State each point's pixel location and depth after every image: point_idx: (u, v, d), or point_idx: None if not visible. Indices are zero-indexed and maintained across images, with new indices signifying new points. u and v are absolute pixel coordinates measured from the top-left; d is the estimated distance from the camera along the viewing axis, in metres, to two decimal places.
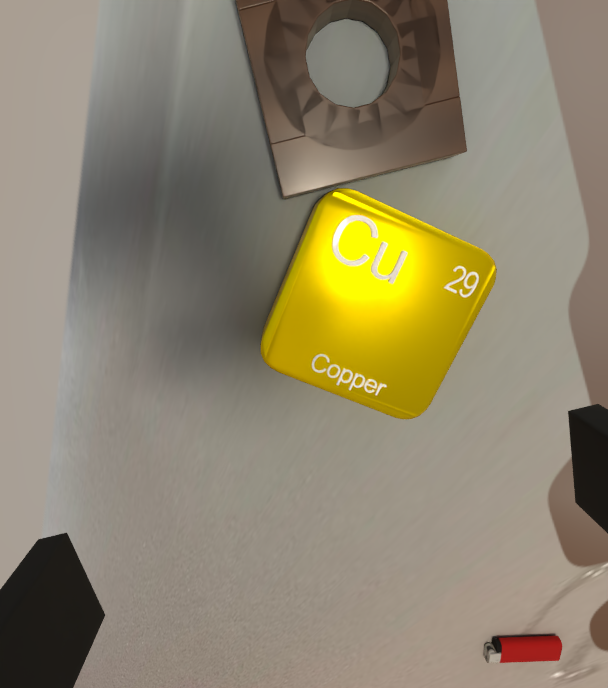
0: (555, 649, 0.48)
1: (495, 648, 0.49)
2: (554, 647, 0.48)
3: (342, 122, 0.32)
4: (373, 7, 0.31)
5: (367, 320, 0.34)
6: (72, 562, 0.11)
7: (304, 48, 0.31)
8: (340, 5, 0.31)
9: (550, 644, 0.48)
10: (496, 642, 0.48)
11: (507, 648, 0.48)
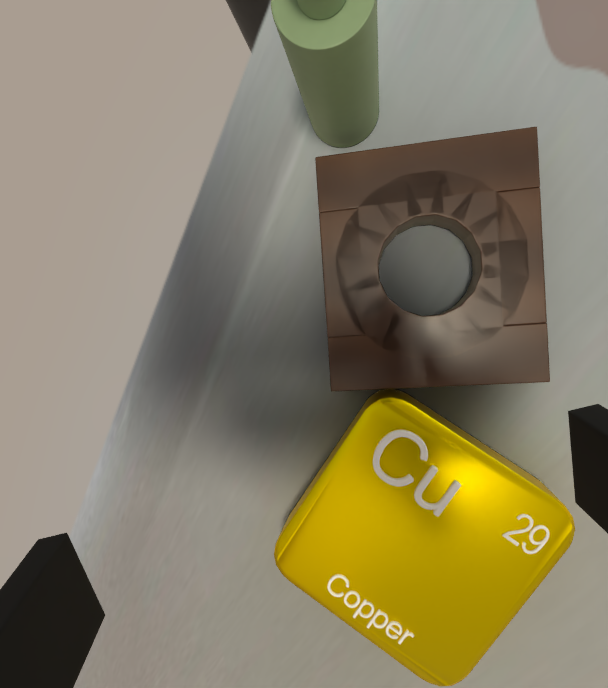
0: None
1: None
2: None
3: (407, 328, 0.30)
4: (458, 223, 0.29)
5: (401, 550, 0.29)
6: (72, 562, 0.11)
7: (378, 253, 0.30)
8: (423, 218, 0.30)
9: None
10: None
11: None
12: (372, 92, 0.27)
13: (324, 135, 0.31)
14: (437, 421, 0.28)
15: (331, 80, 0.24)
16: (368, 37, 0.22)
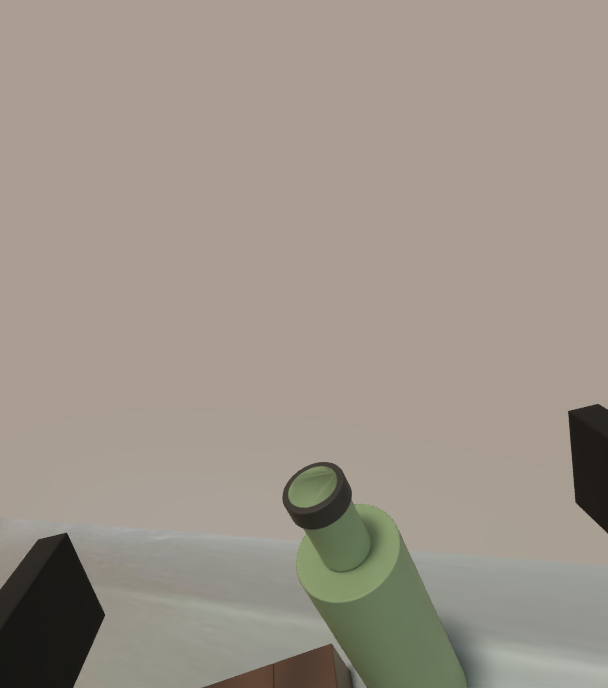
0: None
1: None
2: None
3: None
4: None
5: None
6: (72, 562, 0.11)
7: None
8: None
9: None
10: None
11: None
12: (376, 687, 0.21)
13: None
14: None
15: None
16: (333, 619, 0.19)
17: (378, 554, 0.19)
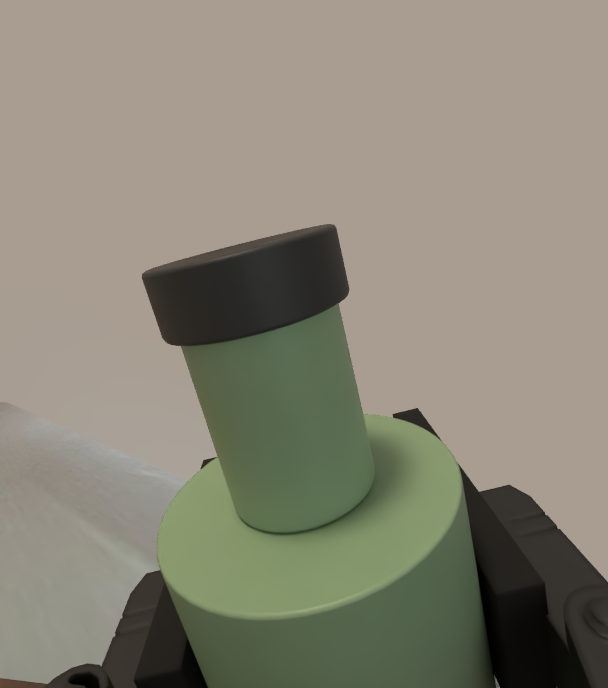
0: None
1: None
2: None
3: None
4: None
5: None
6: None
7: None
8: None
9: None
10: None
11: None
12: None
13: None
14: None
15: None
16: (197, 657, 0.06)
17: (380, 519, 0.06)
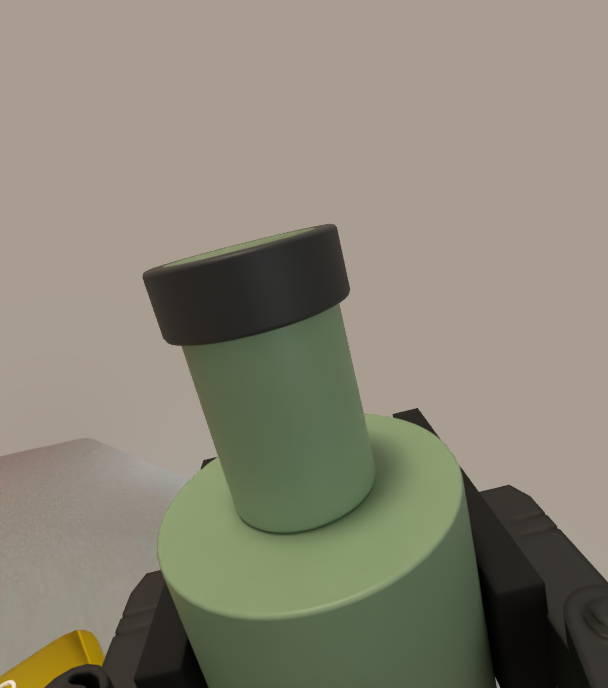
0: None
1: None
2: None
3: None
4: None
5: None
6: None
7: None
8: None
9: None
10: None
11: None
12: None
13: None
14: None
15: None
16: (198, 657, 0.06)
17: (381, 520, 0.06)
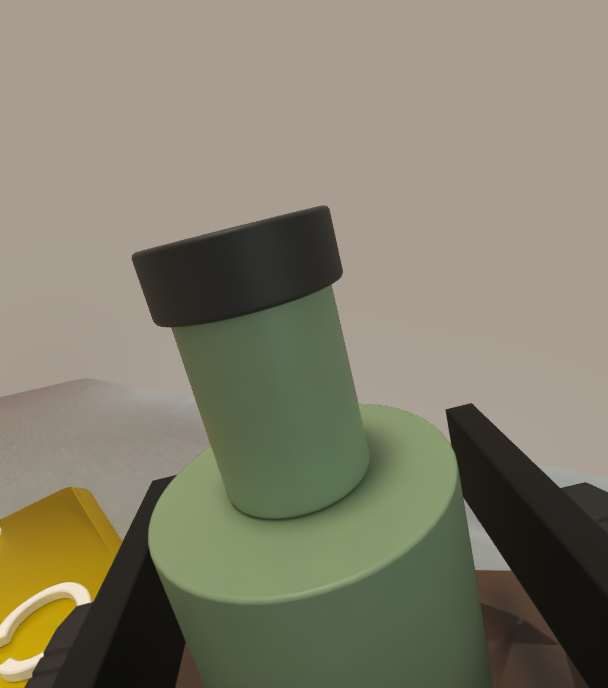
0: None
1: None
2: None
3: None
4: None
5: None
6: None
7: None
8: None
9: None
10: None
11: None
12: None
13: None
14: None
15: None
16: (188, 646, 0.06)
17: (374, 505, 0.06)
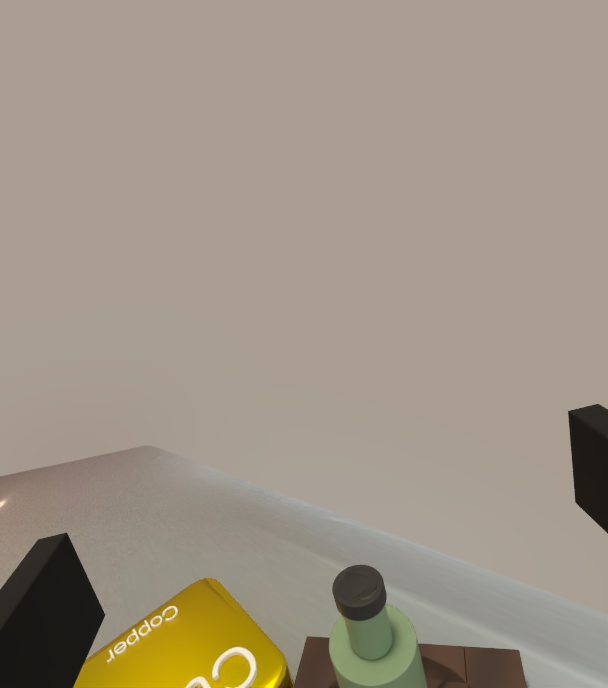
0: None
1: None
2: None
3: None
4: None
5: (168, 663, 0.36)
6: (71, 562, 0.11)
7: None
8: None
9: None
10: None
11: None
12: None
13: None
14: None
15: None
16: None
17: (394, 657, 0.24)
